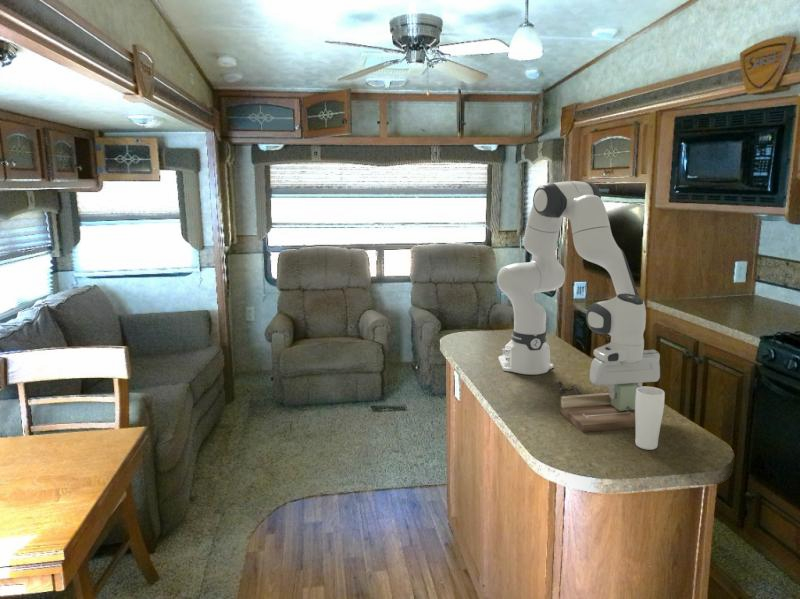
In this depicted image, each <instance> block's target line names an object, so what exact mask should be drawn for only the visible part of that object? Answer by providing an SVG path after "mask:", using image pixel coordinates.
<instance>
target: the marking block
mask: <svg viewBox="0 0 800 599" xmlns="http://www.w3.org/2000/svg"><path fill="white" fill-rule="evenodd" d="M636 389H637V386H636V385H635V384H634V383H629V384H616V385H615V387H614V388H613V390H614V391H615V392H617V398H616V399H611V405H612V406H614V407H615V408H616V409H618V410H619V411H623V410H635V396H636Z"/></svg>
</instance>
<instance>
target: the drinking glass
mask: <svg viewBox="0 0 800 599" xmlns="http://www.w3.org/2000/svg"><path fill="white" fill-rule="evenodd" d="M665 394H666V393H665V391H664V390H663V389H661V388H660V387H659V388H658V387H655V386H648V385H647V386H643V385H642V387H638V388H637V389H636V396H635V443H634V444H635V446H637V447H638V448H639V449H642V450H646V451H648V450H649V451H650V450H651V451H652V450H656V449H657V448H658V444H659V438H660V437H659V436H660V430H661V425H662V420H663V419H662V418H663V416H664V409H665V408H664V407H665V399H666V398H665V397H666V396H665Z"/></svg>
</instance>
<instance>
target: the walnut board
mask: <svg viewBox="0 0 800 599" xmlns="http://www.w3.org/2000/svg"><path fill="white" fill-rule="evenodd" d="M609 395H610V392H603V393H602V392H600V393H589V394H588V393H587V394H585V393H584V394H581V395H577V394H575V395H573V394H572V395H567V396H563V395H562V396H560V410H559V411H560V412H561V413H560V414H561V415H563V416H564V417H565V418H566V419H567V420H568V421H569V422H570V423H571V424H573V425H574V426H575V427H576V428H577V429H578V430H579V431H581V433H586V432H587V433H588V432H589V433H590V432H600V431H610V430H621V429H632V428H633V429H634V428H635V410H623V411H619V410H618V409H616V408H615V407H614V406H612V405H611V398H610V396H609Z"/></svg>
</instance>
